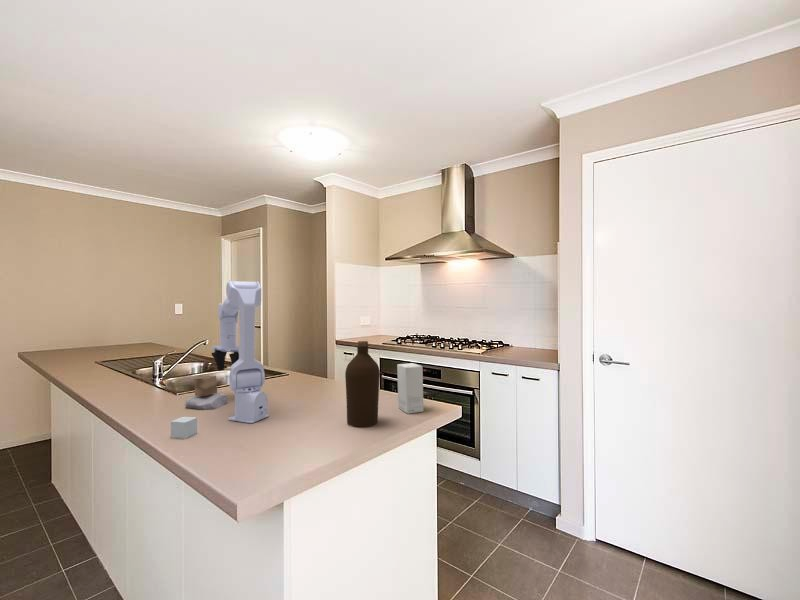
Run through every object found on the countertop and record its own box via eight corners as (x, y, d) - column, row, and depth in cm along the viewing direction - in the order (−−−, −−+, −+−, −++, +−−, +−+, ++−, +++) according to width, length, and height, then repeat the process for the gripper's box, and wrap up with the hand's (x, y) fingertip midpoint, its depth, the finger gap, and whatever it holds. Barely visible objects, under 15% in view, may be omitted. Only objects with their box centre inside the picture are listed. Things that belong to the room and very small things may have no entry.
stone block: (215, 415, 132) (229, 402, 141) (213, 402, 131) (227, 389, 140) (181, 416, 132) (198, 402, 142) (179, 403, 131) (196, 390, 141)
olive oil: (353, 430, 111) (353, 344, 111) (340, 420, 121) (340, 340, 121) (385, 424, 117) (386, 342, 117) (370, 415, 126) (371, 339, 126)
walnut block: (217, 392, 139) (216, 375, 139) (206, 395, 134) (204, 378, 134) (206, 392, 140) (205, 376, 140) (195, 395, 136) (193, 378, 136)
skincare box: (423, 412, 130) (424, 366, 129) (405, 414, 127) (405, 367, 127) (413, 405, 137) (414, 362, 137) (396, 407, 135) (396, 363, 135)
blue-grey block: (196, 433, 109) (197, 417, 109) (184, 439, 104) (185, 422, 104) (183, 432, 110) (183, 416, 110) (170, 437, 105) (170, 421, 105)
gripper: (205, 335, 145) (205, 371, 145) (233, 337, 139) (233, 374, 139) (221, 333, 152) (221, 368, 152) (248, 335, 146) (248, 371, 146)
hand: (228, 371), depth 146 cm, fingers open, 7 cm apart
